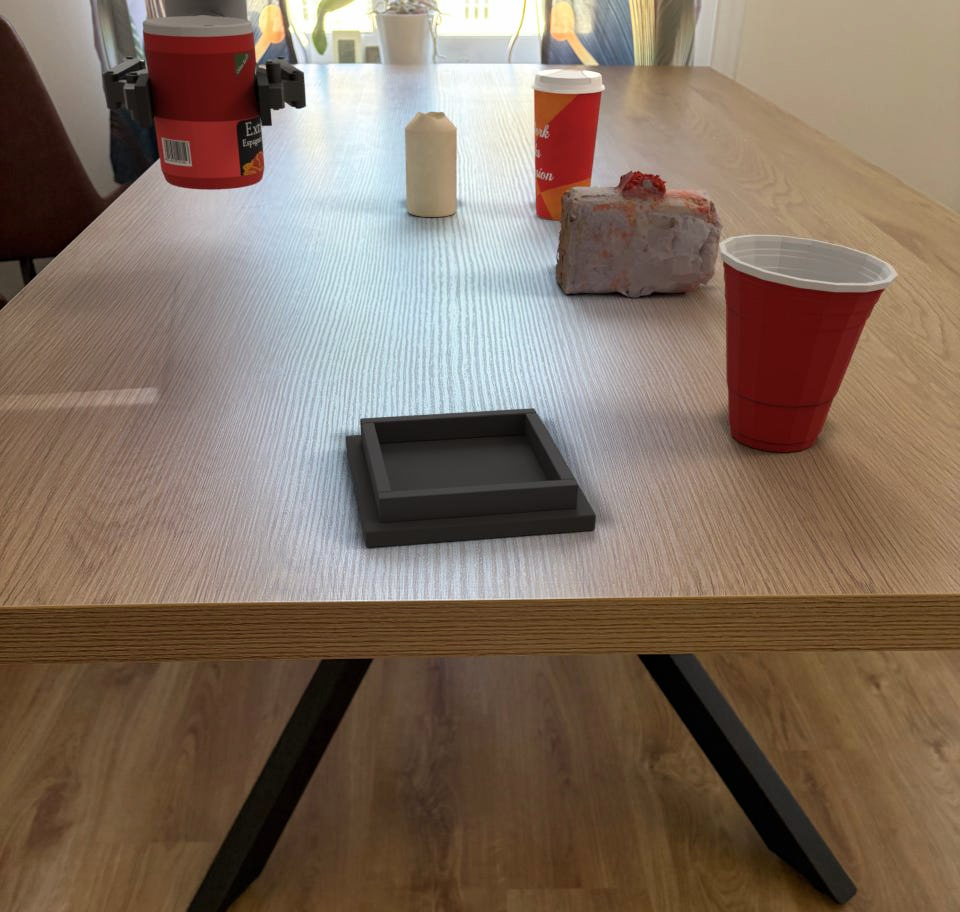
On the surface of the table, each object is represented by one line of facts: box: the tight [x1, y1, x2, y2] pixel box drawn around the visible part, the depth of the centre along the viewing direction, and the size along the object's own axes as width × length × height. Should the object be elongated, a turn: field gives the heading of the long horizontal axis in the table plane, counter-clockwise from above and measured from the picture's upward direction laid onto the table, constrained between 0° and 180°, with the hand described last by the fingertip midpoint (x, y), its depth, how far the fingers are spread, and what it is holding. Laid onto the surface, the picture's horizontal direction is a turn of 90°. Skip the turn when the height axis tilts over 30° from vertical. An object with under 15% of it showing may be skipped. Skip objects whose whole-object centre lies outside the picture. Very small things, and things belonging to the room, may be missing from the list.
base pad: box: [345, 407, 597, 548], centre depth 67 cm, size 13×13×2 cm
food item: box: [555, 170, 724, 298], centre depth 99 cm, size 14×8×10 cm, turn 95°
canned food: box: [142, 16, 265, 191], centre depth 85 cm, size 8×8×11 cm
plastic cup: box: [718, 234, 899, 453], centre depth 71 cm, size 11×11×12 cm
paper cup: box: [530, 68, 606, 221], centre depth 120 cm, size 8×8×14 cm
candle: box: [404, 111, 458, 218], centre depth 121 cm, size 6×6×10 cm
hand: (204, 106), depth 81 cm, fingers closed on canned food, 8 cm apart
